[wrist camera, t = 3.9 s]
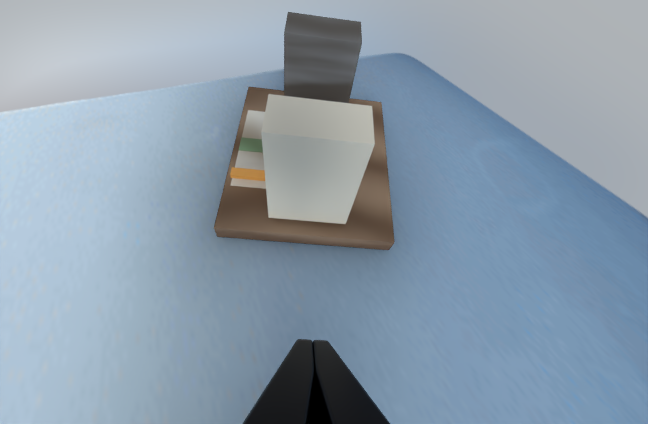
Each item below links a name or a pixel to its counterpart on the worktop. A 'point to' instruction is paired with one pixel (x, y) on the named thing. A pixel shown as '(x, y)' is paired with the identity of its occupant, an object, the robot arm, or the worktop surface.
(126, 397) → the worktop surface
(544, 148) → the worktop surface
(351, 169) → the cream eraser-shaped block
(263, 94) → the board
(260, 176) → the drag pointer
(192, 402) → the worktop surface
